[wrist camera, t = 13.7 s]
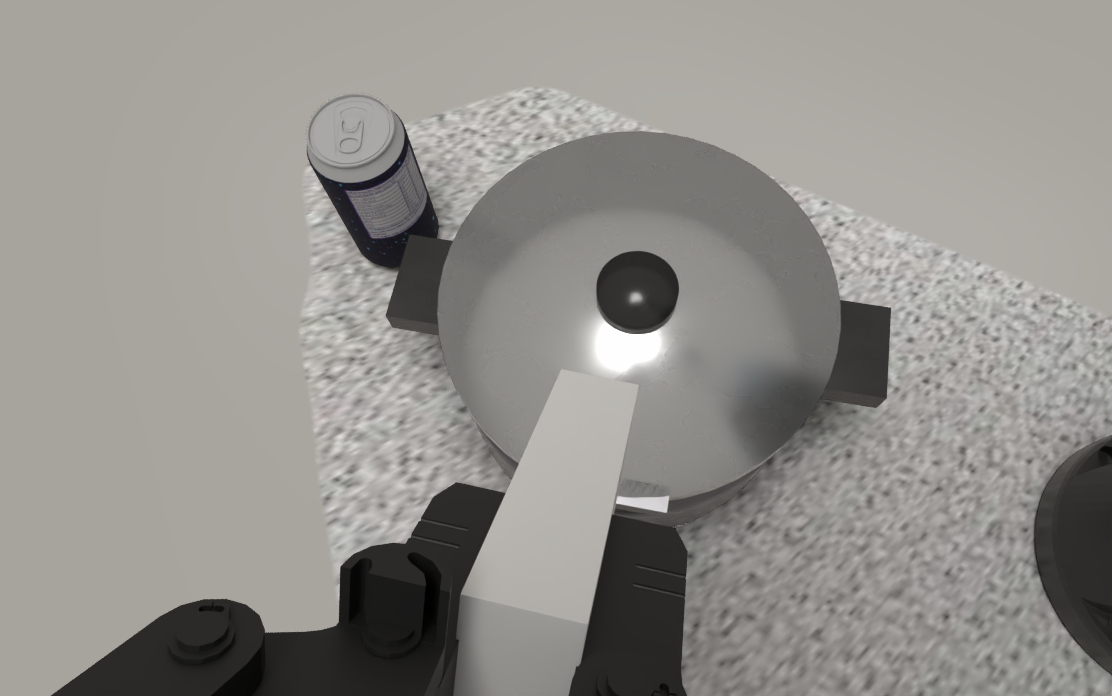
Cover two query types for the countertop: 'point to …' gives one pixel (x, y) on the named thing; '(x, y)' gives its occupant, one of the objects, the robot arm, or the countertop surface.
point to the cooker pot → (851, 382)
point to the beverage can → (370, 175)
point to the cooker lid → (644, 305)
